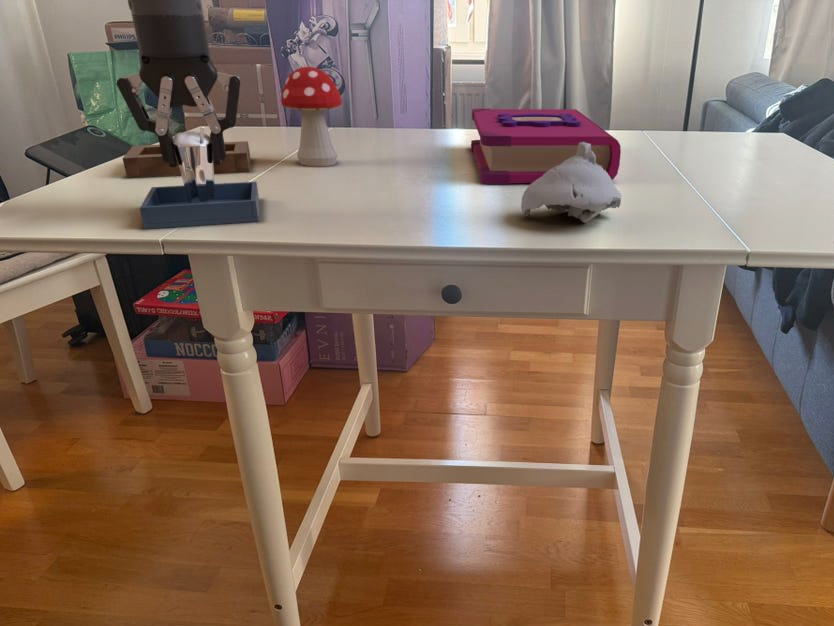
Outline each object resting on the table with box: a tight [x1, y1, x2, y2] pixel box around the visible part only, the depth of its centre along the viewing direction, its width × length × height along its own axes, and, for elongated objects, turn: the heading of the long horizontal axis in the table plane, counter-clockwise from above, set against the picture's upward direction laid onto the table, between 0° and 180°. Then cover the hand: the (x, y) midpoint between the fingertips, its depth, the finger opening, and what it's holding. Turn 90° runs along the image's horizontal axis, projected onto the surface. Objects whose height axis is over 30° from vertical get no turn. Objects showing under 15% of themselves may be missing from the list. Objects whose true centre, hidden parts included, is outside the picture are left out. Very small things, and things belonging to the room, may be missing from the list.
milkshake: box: [172, 127, 216, 204], centre depth 84 cm, size 4×5×10 cm
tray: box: [139, 181, 260, 230], centre depth 86 cm, size 13×10×3 cm
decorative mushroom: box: [280, 66, 343, 167], centre depth 110 cm, size 10×9×15 cm
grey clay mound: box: [520, 142, 622, 224], centre depth 84 cm, size 12×12×11 cm
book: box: [470, 108, 622, 185], centre depth 113 cm, size 21×28×8 cm
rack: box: [121, 140, 251, 179], centre depth 109 cm, size 18×10×3 cm, turn 106°
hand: (196, 164), depth 84 cm, fingers closed on milkshake, 4 cm apart
